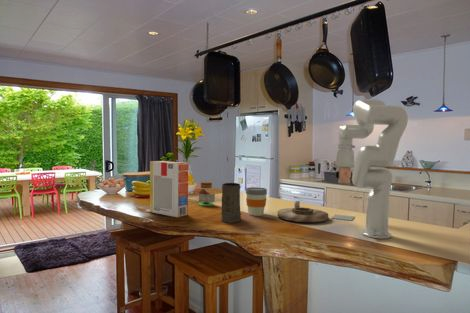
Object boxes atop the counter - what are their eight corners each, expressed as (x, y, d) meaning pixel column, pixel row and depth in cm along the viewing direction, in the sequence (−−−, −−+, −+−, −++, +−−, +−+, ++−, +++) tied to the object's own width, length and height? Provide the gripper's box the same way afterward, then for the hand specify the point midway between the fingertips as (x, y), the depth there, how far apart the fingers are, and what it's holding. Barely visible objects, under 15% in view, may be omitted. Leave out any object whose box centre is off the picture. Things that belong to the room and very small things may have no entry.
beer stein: (238, 223, 173) (239, 185, 172) (218, 222, 175) (219, 184, 174) (244, 217, 188) (244, 182, 187) (225, 216, 190) (226, 181, 190)
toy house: (193, 203, 228) (193, 181, 227) (211, 202, 233) (211, 181, 232) (199, 206, 217) (199, 183, 216) (217, 205, 222) (217, 183, 222)
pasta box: (187, 214, 192) (188, 162, 191) (177, 217, 186) (178, 163, 184) (159, 209, 205) (160, 160, 204) (149, 211, 199) (150, 161, 197)
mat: (351, 221, 184) (351, 220, 184) (331, 218, 189) (331, 217, 189) (354, 217, 194) (354, 216, 194) (335, 215, 199) (335, 214, 199)
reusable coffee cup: (255, 217, 189) (255, 190, 189) (240, 213, 199) (241, 188, 198) (270, 214, 197) (271, 189, 197) (256, 210, 207) (256, 186, 206)
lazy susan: (333, 214, 194) (333, 203, 194) (320, 224, 170) (320, 212, 170) (287, 209, 208) (288, 199, 208) (269, 217, 184) (270, 206, 184)
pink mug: (336, 182, 193) (336, 166, 193) (346, 182, 195) (346, 166, 194) (344, 184, 185) (344, 168, 184) (354, 184, 186) (355, 168, 185)
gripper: (361, 147, 191) (360, 179, 192) (329, 147, 196) (328, 177, 197) (361, 147, 184) (360, 180, 184) (329, 147, 189) (328, 178, 190)
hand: (344, 178), depth 191 cm, fingers closed on pink mug, 6 cm apart
